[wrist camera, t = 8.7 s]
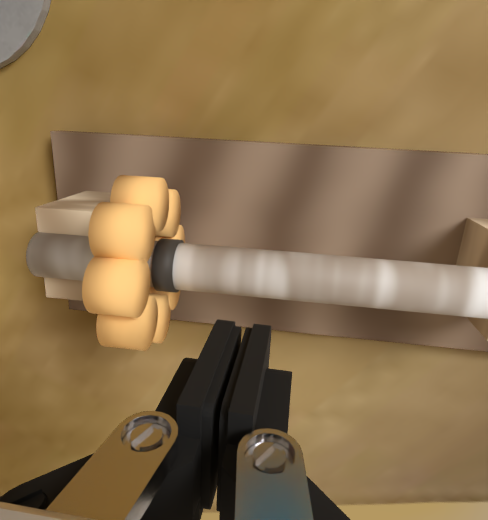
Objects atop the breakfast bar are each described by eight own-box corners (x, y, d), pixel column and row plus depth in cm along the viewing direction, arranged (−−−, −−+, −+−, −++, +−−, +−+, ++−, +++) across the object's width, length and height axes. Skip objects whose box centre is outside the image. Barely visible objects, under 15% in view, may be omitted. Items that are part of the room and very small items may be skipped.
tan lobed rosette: (184, 168, 23) (123, 192, 15) (184, 305, 26) (133, 390, 18) (151, 165, 23) (72, 189, 15) (155, 302, 26) (90, 385, 18)
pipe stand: (565, 158, 22) (698, 175, 15) (509, 345, 26) (592, 430, 19) (61, 130, 25) (-35, 133, 18) (78, 302, 29) (5, 361, 22)
